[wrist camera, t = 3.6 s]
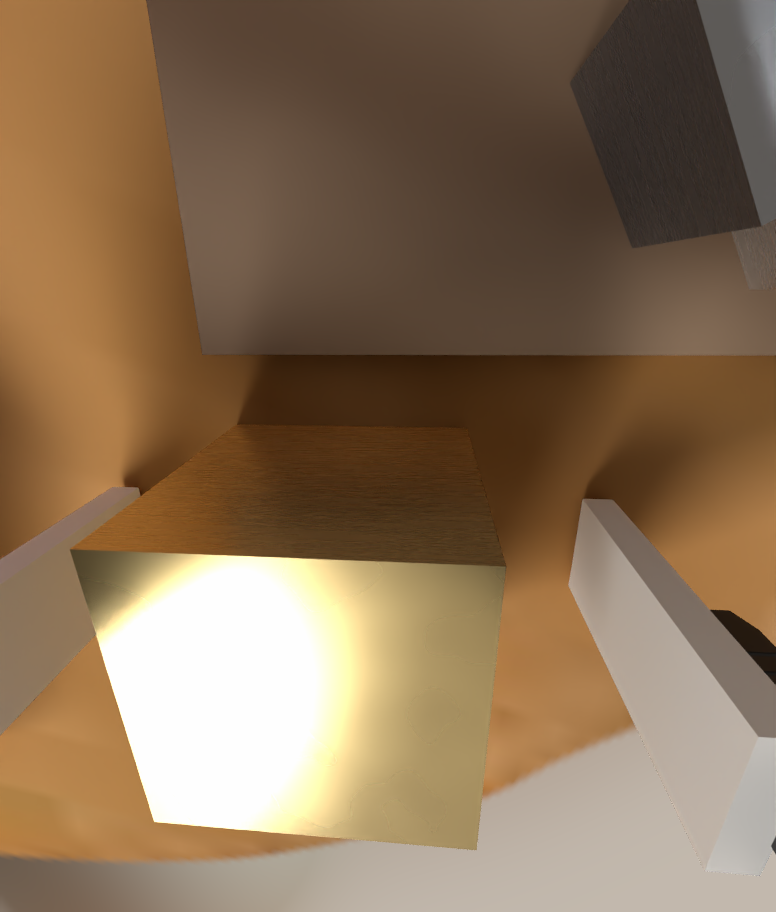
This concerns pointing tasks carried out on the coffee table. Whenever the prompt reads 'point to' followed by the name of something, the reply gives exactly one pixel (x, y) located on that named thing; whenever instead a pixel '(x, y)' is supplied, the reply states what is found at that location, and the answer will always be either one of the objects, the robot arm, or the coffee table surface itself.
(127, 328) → the coffee table surface
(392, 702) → the gold cube
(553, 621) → the coffee table surface
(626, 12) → the shafts
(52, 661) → the robot arm
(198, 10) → the framed base plate
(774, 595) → the coffee table surface
